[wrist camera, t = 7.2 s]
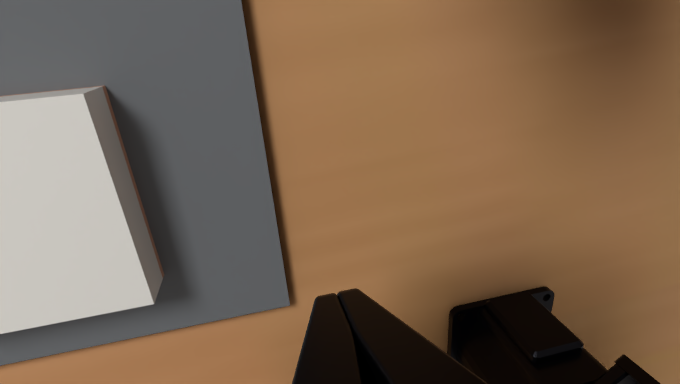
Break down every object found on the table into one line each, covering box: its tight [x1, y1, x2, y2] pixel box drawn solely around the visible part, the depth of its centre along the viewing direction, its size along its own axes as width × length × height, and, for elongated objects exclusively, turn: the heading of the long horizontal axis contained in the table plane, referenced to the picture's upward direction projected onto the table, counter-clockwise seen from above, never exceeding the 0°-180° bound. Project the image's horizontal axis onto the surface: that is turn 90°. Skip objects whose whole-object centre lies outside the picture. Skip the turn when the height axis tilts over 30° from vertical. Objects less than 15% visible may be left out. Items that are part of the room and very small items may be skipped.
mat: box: [0, 0, 290, 366], centre depth 14 cm, size 16×18×1 cm
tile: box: [0, 85, 164, 334], centre depth 13 cm, size 8×2×8 cm
